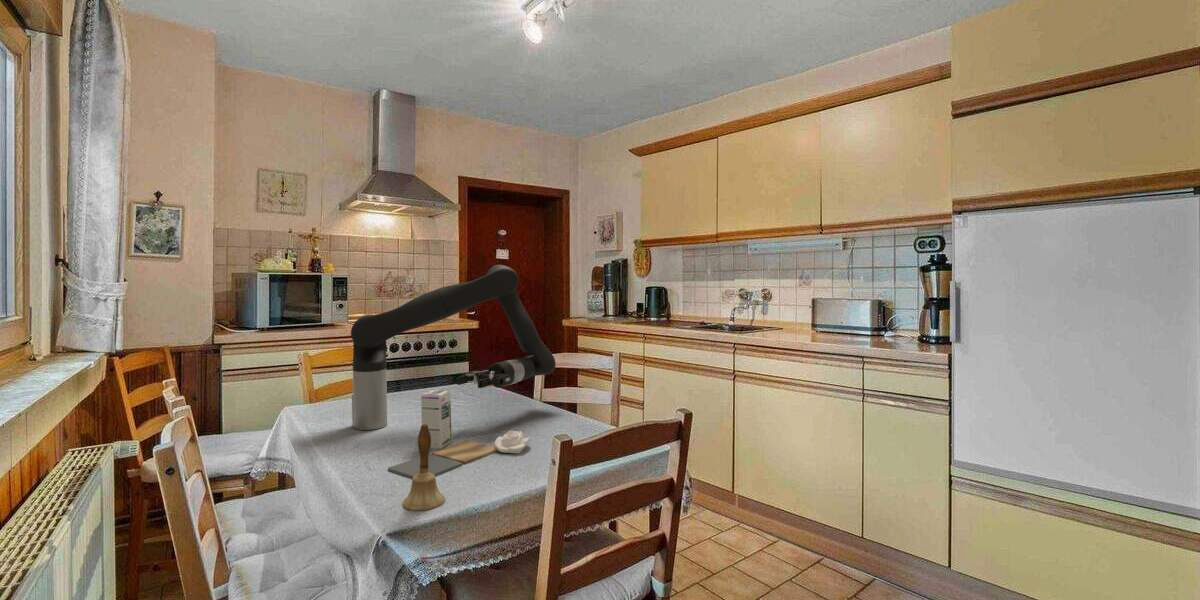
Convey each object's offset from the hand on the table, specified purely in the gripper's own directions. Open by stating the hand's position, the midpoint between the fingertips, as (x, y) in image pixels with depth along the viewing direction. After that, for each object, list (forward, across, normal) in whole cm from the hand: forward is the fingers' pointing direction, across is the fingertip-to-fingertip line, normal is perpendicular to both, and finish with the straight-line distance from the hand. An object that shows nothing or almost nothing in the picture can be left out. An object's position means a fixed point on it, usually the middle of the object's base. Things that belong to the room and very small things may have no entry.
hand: (467, 382), depth 157 cm
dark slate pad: (+24, +11, +15) cm, 31 cm away
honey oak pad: (+12, +11, +15) cm, 22 cm away
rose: (+3, +19, +15) cm, 24 cm away
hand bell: (+38, +26, +15) cm, 48 cm away
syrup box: (+12, 0, +15) cm, 19 cm away
